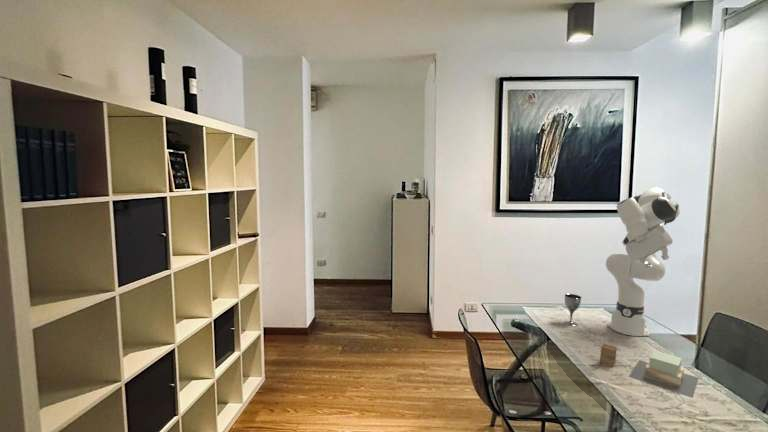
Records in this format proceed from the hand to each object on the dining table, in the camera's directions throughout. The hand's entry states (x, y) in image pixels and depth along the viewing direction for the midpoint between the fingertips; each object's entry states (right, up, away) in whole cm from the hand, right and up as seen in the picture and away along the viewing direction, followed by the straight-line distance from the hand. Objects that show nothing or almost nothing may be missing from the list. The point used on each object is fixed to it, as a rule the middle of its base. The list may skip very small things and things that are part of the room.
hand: (657, 263), depth 160 cm
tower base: (-1, -44, -5) cm, 44 cm away
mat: (-1, -45, -5) cm, 45 cm away
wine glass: (-11, -38, +51) cm, 65 cm away
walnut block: (-17, -43, +5) cm, 47 cm away
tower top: (-1, -40, -6) cm, 40 cm away
